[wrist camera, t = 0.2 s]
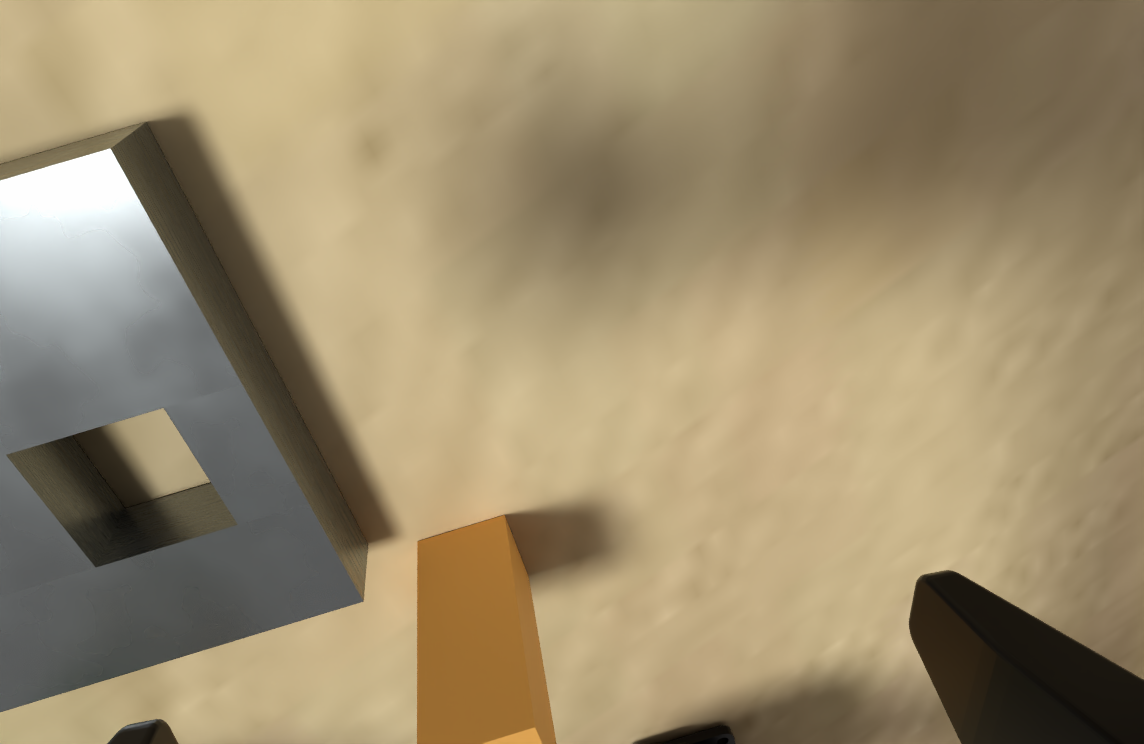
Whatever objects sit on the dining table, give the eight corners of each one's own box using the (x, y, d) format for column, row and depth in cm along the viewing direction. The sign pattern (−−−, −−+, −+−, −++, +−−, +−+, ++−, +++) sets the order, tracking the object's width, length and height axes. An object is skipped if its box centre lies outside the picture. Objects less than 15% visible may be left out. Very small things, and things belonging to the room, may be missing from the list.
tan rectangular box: (528, 576, 28) (564, 793, 21) (446, 601, 28) (455, 827, 21) (504, 514, 26) (535, 727, 19) (417, 541, 26) (417, 763, 19)
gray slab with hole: (368, 544, 26) (363, 601, 24) (10, 652, 25) (-27, 720, 23) (146, 121, 18) (110, 148, 16) (-357, 268, 18) (-461, 314, 16)
